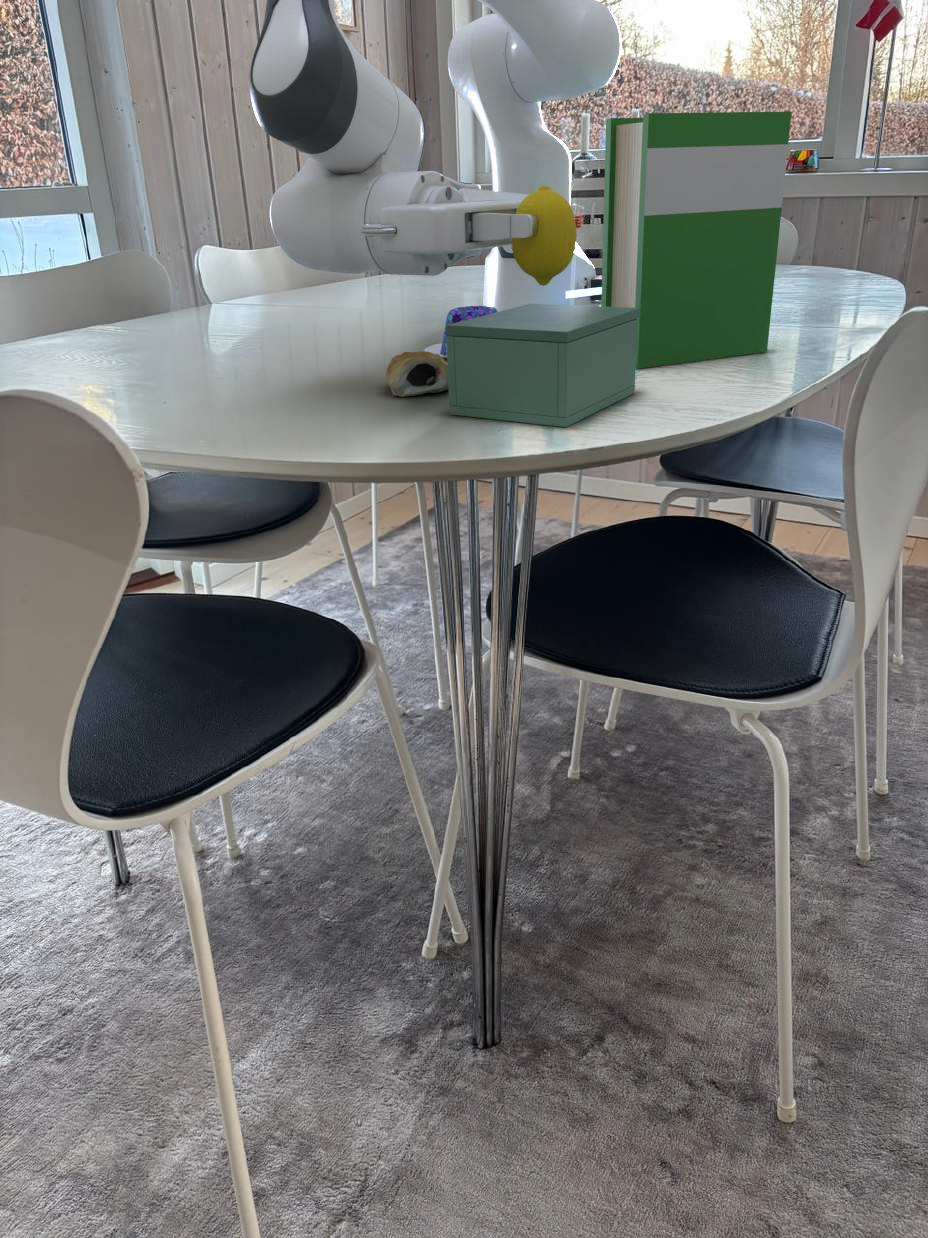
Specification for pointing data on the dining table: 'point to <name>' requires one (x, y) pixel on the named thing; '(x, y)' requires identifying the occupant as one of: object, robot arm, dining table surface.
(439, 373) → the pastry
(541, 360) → the box
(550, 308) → the sage green box lid
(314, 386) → the dining table surface
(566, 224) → the lemon
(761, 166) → the hardback book
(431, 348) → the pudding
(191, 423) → the dining table surface
